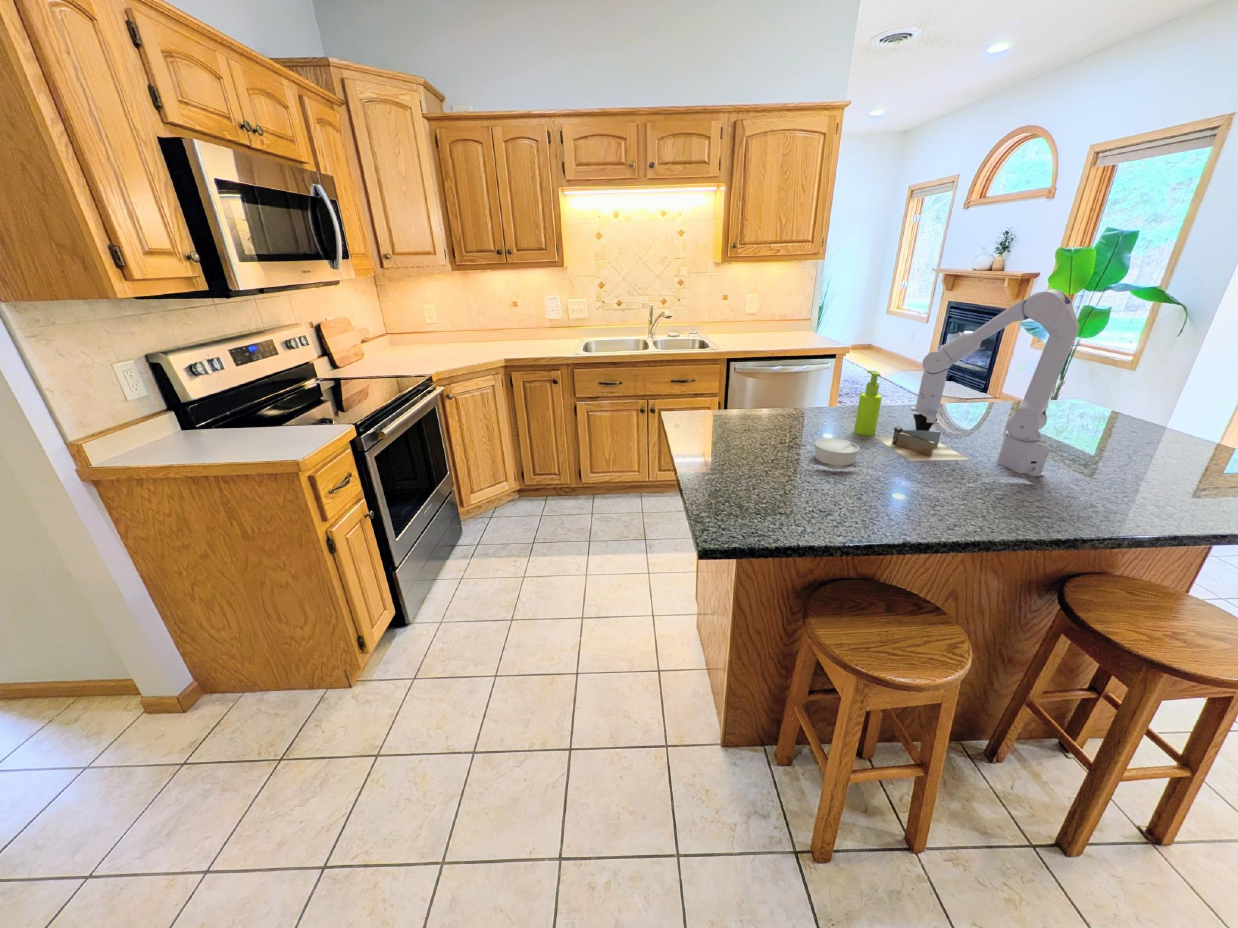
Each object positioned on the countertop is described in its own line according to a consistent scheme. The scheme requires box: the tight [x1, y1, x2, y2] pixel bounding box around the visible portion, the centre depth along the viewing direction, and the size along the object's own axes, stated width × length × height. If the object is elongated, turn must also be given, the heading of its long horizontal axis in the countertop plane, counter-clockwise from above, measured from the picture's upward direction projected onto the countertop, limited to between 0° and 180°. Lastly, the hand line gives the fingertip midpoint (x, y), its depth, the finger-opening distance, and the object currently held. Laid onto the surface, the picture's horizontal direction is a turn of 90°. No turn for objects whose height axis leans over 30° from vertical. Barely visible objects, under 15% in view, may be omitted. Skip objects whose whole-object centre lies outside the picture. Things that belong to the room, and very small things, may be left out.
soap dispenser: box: [853, 370, 883, 436], centre depth 151 cm, size 6×7×20 cm
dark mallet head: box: [892, 426, 935, 457], centre depth 140 cm, size 12×2×5 cm, turn 27°
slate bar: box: [901, 428, 942, 445], centre depth 143 cm, size 10×1×4 cm, turn 75°
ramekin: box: [813, 437, 860, 470], centre depth 135 cm, size 11×11×5 cm
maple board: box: [874, 436, 970, 462], centre depth 142 cm, size 19×16×1 cm
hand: (920, 439), depth 145 cm, fingers closed
